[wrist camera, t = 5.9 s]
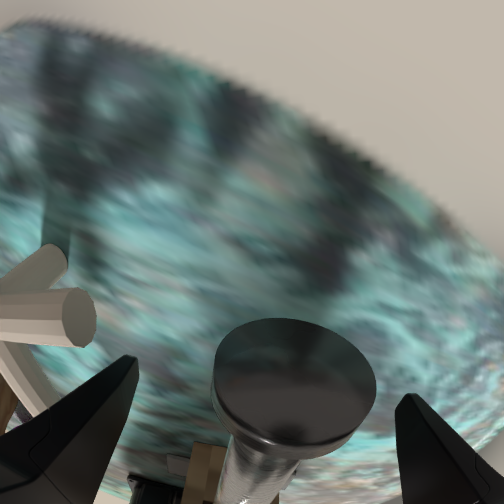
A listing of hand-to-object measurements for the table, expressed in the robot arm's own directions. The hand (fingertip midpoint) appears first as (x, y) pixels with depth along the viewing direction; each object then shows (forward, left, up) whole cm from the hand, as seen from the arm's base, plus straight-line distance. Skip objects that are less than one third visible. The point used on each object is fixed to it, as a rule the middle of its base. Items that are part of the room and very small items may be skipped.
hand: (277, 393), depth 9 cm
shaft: (-6, 0, -1) cm, 6 cm away
